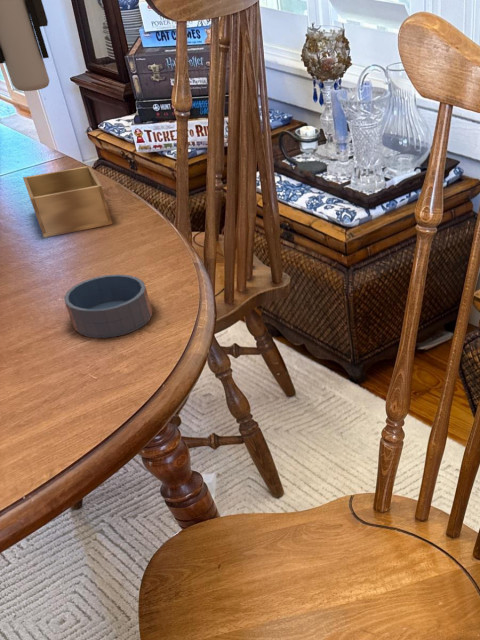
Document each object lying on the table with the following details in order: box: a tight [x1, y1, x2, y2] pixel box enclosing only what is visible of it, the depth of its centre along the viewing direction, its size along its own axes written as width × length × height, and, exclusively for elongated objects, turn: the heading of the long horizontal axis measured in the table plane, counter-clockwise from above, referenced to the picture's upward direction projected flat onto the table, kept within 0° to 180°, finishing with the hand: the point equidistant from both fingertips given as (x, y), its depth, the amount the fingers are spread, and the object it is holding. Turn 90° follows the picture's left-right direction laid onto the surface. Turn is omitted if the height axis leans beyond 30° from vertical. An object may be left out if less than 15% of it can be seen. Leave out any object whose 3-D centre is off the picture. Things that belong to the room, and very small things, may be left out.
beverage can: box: [0, 0, 50, 92], centre depth 101 cm, size 5×5×12 cm
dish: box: [63, 274, 153, 339], centre depth 94 cm, size 9×9×4 cm
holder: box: [22, 165, 113, 238], centre depth 117 cm, size 10×10×6 cm
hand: (23, 58), depth 103 cm, fingers closed on beverage can, 5 cm apart
